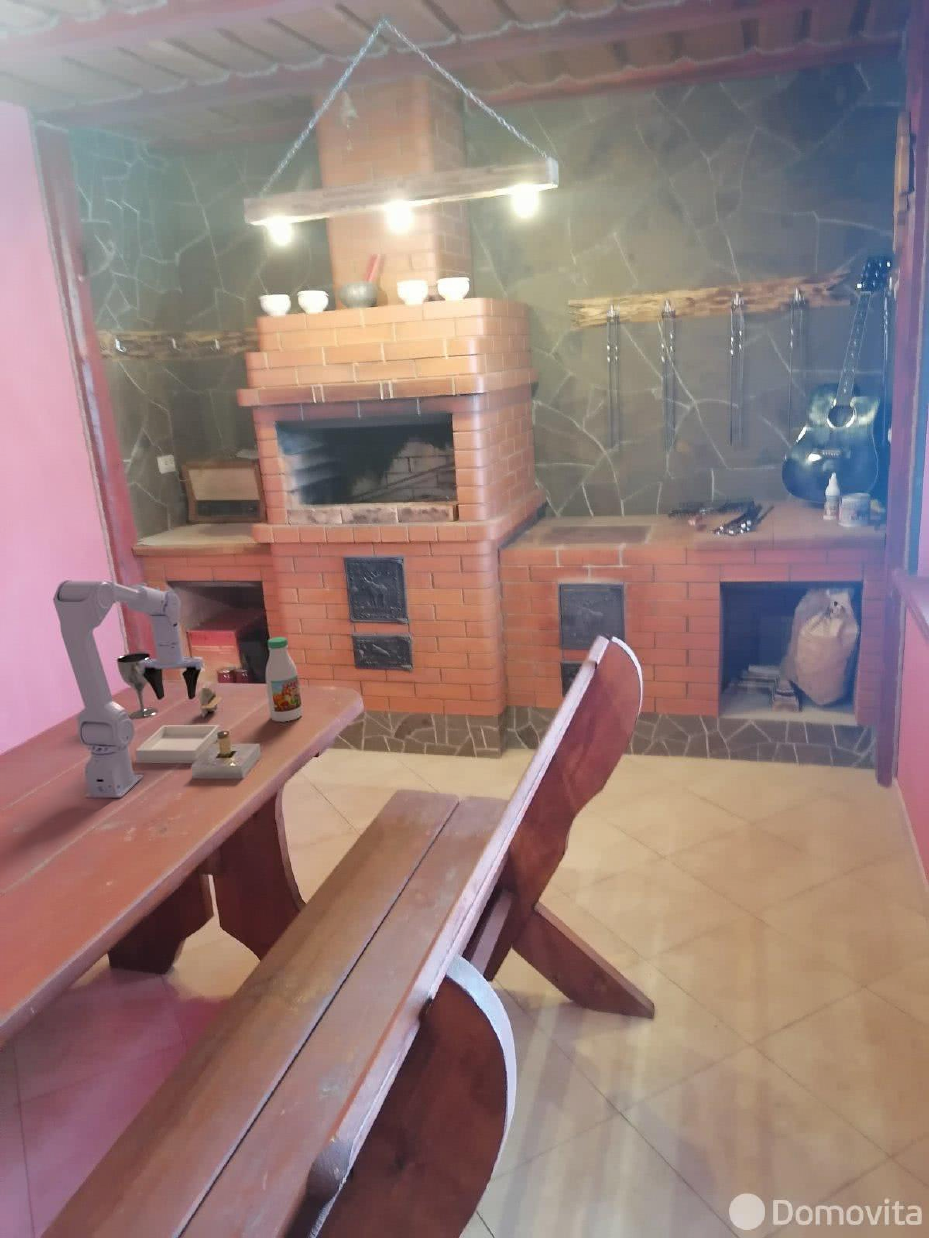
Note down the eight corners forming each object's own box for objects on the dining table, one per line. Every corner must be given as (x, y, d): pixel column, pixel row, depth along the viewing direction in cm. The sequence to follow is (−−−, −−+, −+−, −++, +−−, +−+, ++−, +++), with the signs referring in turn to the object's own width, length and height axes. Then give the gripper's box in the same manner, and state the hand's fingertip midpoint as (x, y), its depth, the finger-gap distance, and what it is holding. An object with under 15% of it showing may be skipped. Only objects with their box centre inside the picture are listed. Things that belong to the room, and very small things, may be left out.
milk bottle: (265, 721, 218) (254, 643, 213) (280, 709, 225) (270, 633, 220) (293, 723, 216) (283, 644, 210) (308, 711, 223) (299, 634, 217)
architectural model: (223, 709, 229) (219, 682, 227) (214, 720, 223) (210, 692, 220) (210, 710, 229) (206, 682, 227) (201, 720, 223) (196, 692, 221)
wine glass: (164, 706, 232) (155, 651, 228) (151, 718, 225) (141, 662, 221) (135, 707, 233) (125, 652, 229) (121, 719, 226) (110, 663, 221)
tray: (196, 762, 198) (194, 750, 197) (137, 762, 200) (134, 750, 199) (221, 736, 211) (219, 724, 210) (165, 737, 213) (163, 725, 212)
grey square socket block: (243, 778, 189) (241, 765, 188) (193, 778, 190) (191, 765, 189) (261, 756, 199) (259, 743, 198) (213, 756, 201) (212, 743, 200)
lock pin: (231, 769, 193) (226, 735, 191) (220, 769, 194) (215, 735, 191) (235, 764, 196) (230, 730, 193) (224, 764, 196) (219, 730, 194)
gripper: (205, 636, 208) (213, 691, 212) (145, 637, 210) (154, 692, 214) (192, 645, 201) (201, 702, 205) (131, 647, 203) (141, 703, 207)
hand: (176, 697), depth 209 cm, fingers open, 7 cm apart
